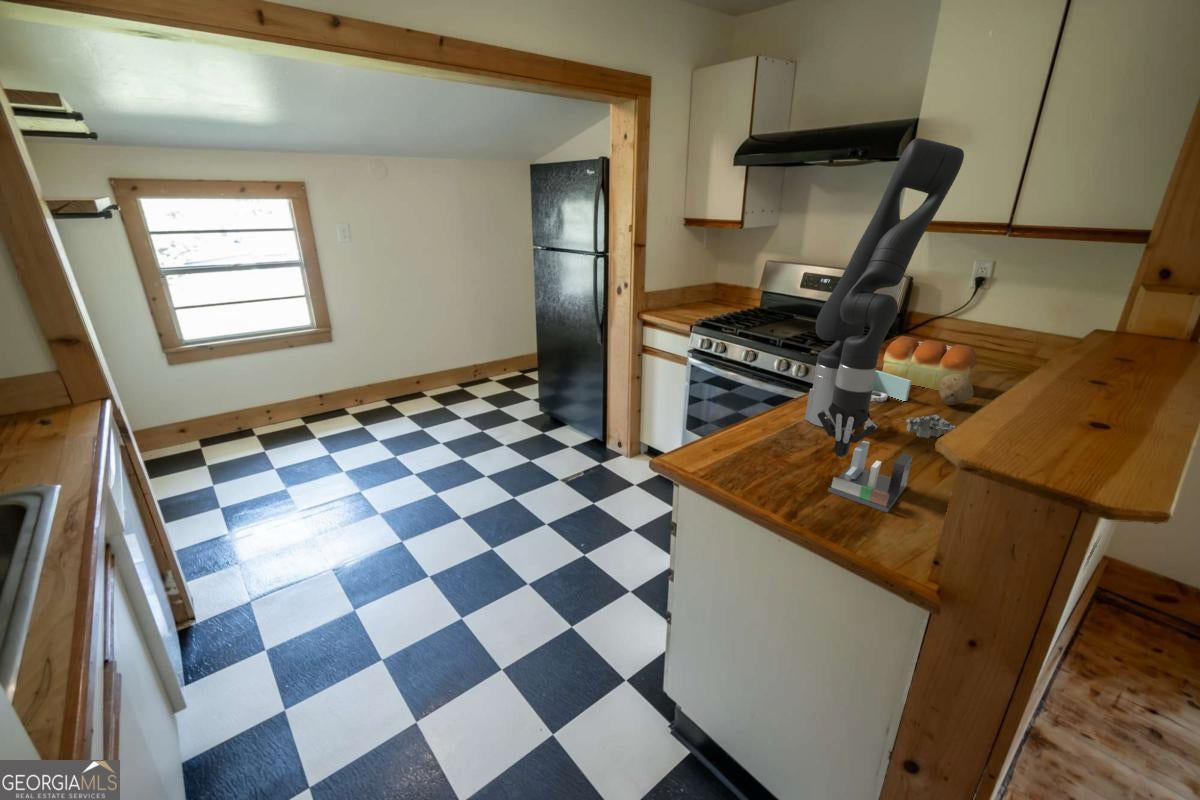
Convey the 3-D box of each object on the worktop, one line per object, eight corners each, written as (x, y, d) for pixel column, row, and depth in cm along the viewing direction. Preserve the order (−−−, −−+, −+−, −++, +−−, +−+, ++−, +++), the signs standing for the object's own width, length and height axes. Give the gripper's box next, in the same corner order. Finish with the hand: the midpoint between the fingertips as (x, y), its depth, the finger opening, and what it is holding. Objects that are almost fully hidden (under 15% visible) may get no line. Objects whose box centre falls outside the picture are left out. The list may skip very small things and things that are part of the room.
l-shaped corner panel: (848, 397, 169) (852, 375, 166) (872, 391, 174) (876, 370, 171) (881, 409, 159) (886, 386, 156) (906, 403, 164) (911, 380, 161)
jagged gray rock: (921, 440, 138) (924, 426, 137) (900, 428, 145) (904, 415, 144) (955, 436, 140) (959, 422, 139) (933, 425, 147) (937, 412, 145)
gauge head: (841, 484, 113) (846, 456, 111) (857, 467, 120) (863, 440, 118) (847, 487, 112) (853, 458, 110) (863, 469, 119) (869, 442, 117)
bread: (968, 387, 177) (980, 345, 172) (961, 396, 169) (973, 352, 163) (889, 371, 193) (897, 332, 188) (879, 379, 184) (887, 339, 179)
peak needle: (864, 495, 109) (871, 466, 106) (870, 489, 111) (876, 460, 109) (869, 497, 108) (876, 468, 106) (875, 491, 111) (881, 461, 108)
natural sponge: (969, 404, 162) (977, 373, 158) (969, 413, 155) (978, 381, 151) (935, 398, 167) (942, 368, 163) (933, 406, 160) (941, 376, 156)
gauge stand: (827, 491, 113) (833, 458, 110) (849, 468, 123) (856, 438, 120) (887, 512, 105) (895, 478, 103) (906, 486, 115) (914, 454, 112)
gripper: (891, 387, 112) (876, 458, 118) (829, 374, 120) (817, 441, 126) (881, 396, 106) (865, 470, 113) (817, 382, 115) (805, 452, 121)
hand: (840, 455), depth 119 cm, fingers closed
